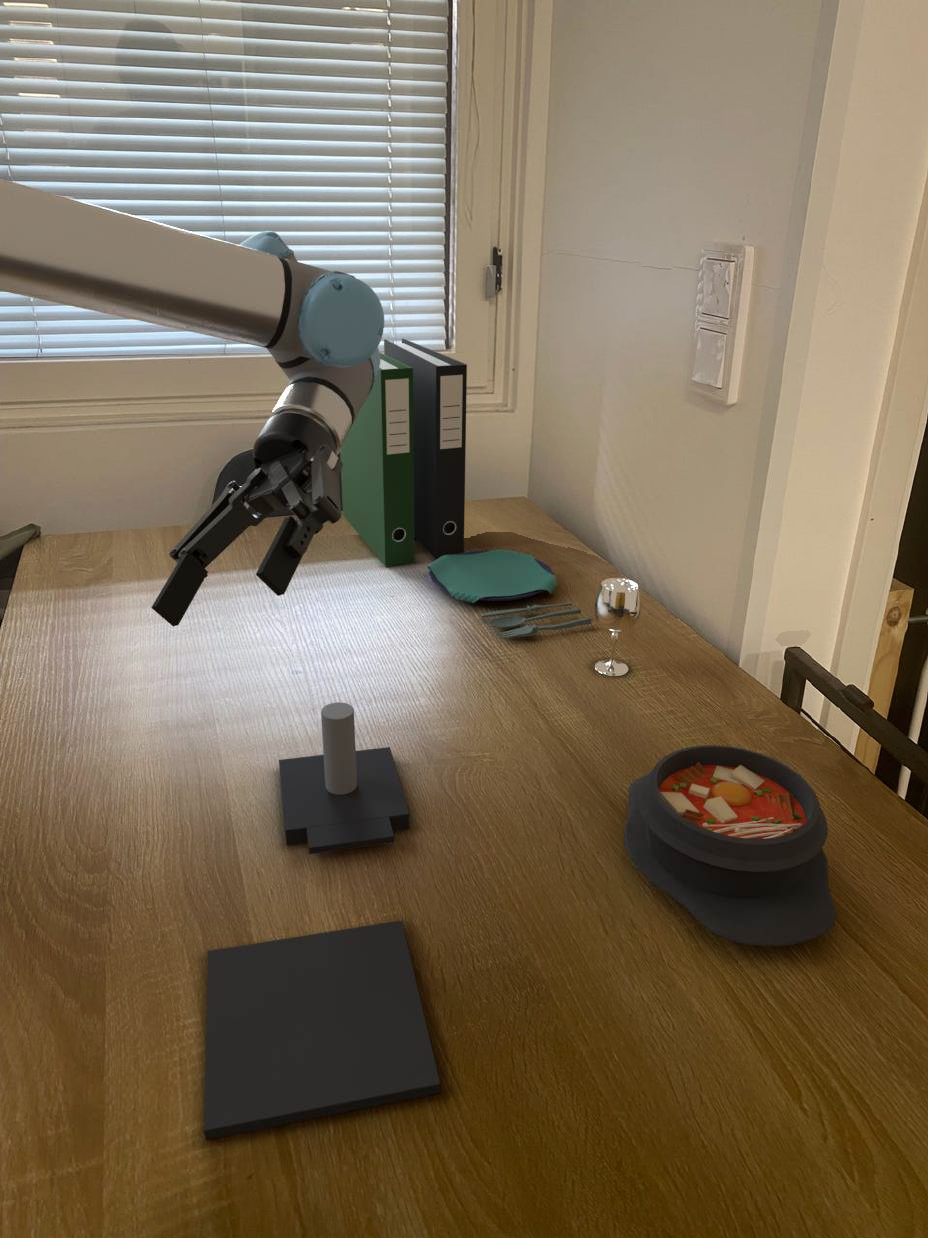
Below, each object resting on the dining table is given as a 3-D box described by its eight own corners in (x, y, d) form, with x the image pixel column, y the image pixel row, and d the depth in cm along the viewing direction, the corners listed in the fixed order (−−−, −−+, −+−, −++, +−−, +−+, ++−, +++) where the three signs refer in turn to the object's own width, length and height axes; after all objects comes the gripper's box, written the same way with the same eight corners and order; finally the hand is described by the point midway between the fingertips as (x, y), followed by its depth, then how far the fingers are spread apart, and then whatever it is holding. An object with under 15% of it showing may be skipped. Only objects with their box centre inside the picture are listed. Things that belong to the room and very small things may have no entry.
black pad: (205, 1141, 60) (203, 1131, 60) (209, 959, 74) (207, 950, 74) (440, 1093, 64) (440, 1084, 63) (401, 928, 78) (401, 919, 77)
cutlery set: (524, 555, 156) (525, 542, 155) (605, 628, 131) (606, 614, 130) (413, 568, 150) (413, 555, 149) (475, 648, 125) (476, 633, 124)
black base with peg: (288, 866, 85) (280, 770, 80) (279, 773, 98) (272, 686, 93) (415, 848, 87) (414, 754, 83) (390, 760, 100) (388, 675, 96)
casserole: (887, 948, 77) (909, 871, 73) (679, 977, 74) (692, 897, 70) (751, 776, 99) (763, 709, 95) (587, 792, 96) (593, 724, 92)
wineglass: (585, 658, 123) (592, 576, 117) (626, 657, 123) (635, 575, 118) (595, 679, 117) (603, 595, 112) (638, 678, 118) (648, 593, 113)
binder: (339, 515, 173) (331, 341, 159) (412, 506, 178) (410, 337, 164) (385, 566, 151) (380, 369, 137) (467, 554, 156) (470, 364, 142)
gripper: (422, 429, 85) (350, 599, 72) (243, 499, 99) (156, 652, 86) (374, 366, 80) (289, 536, 68) (194, 449, 94) (95, 602, 82)
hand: (214, 601), depth 77 cm, fingers open, 13 cm apart
